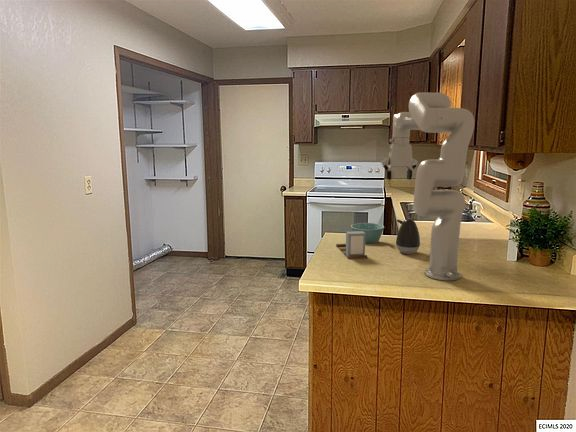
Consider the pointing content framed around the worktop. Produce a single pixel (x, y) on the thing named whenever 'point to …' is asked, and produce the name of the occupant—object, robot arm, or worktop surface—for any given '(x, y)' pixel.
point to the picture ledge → (343, 249)
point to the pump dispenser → (408, 237)
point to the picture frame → (355, 243)
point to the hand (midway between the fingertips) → (399, 179)
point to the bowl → (369, 231)
